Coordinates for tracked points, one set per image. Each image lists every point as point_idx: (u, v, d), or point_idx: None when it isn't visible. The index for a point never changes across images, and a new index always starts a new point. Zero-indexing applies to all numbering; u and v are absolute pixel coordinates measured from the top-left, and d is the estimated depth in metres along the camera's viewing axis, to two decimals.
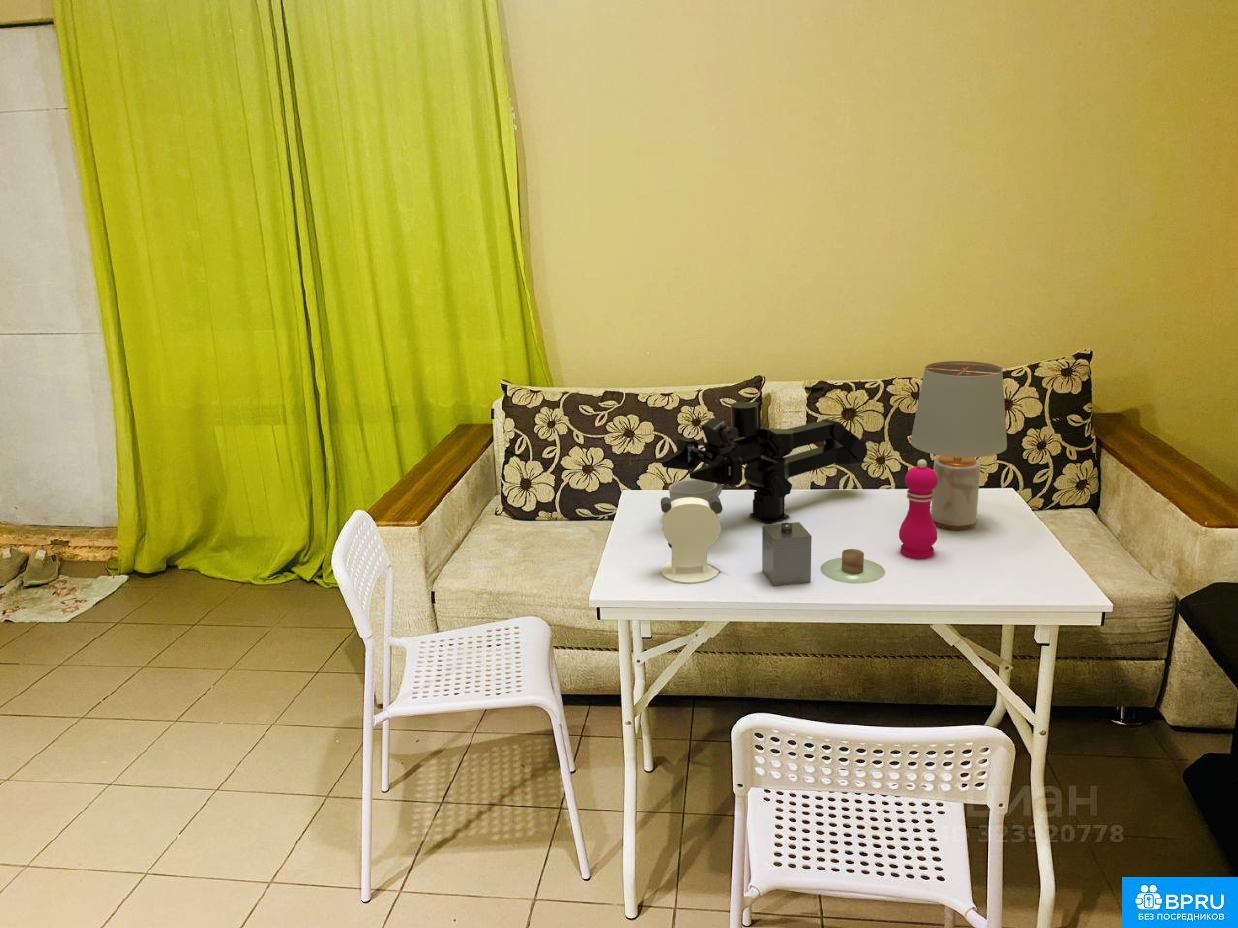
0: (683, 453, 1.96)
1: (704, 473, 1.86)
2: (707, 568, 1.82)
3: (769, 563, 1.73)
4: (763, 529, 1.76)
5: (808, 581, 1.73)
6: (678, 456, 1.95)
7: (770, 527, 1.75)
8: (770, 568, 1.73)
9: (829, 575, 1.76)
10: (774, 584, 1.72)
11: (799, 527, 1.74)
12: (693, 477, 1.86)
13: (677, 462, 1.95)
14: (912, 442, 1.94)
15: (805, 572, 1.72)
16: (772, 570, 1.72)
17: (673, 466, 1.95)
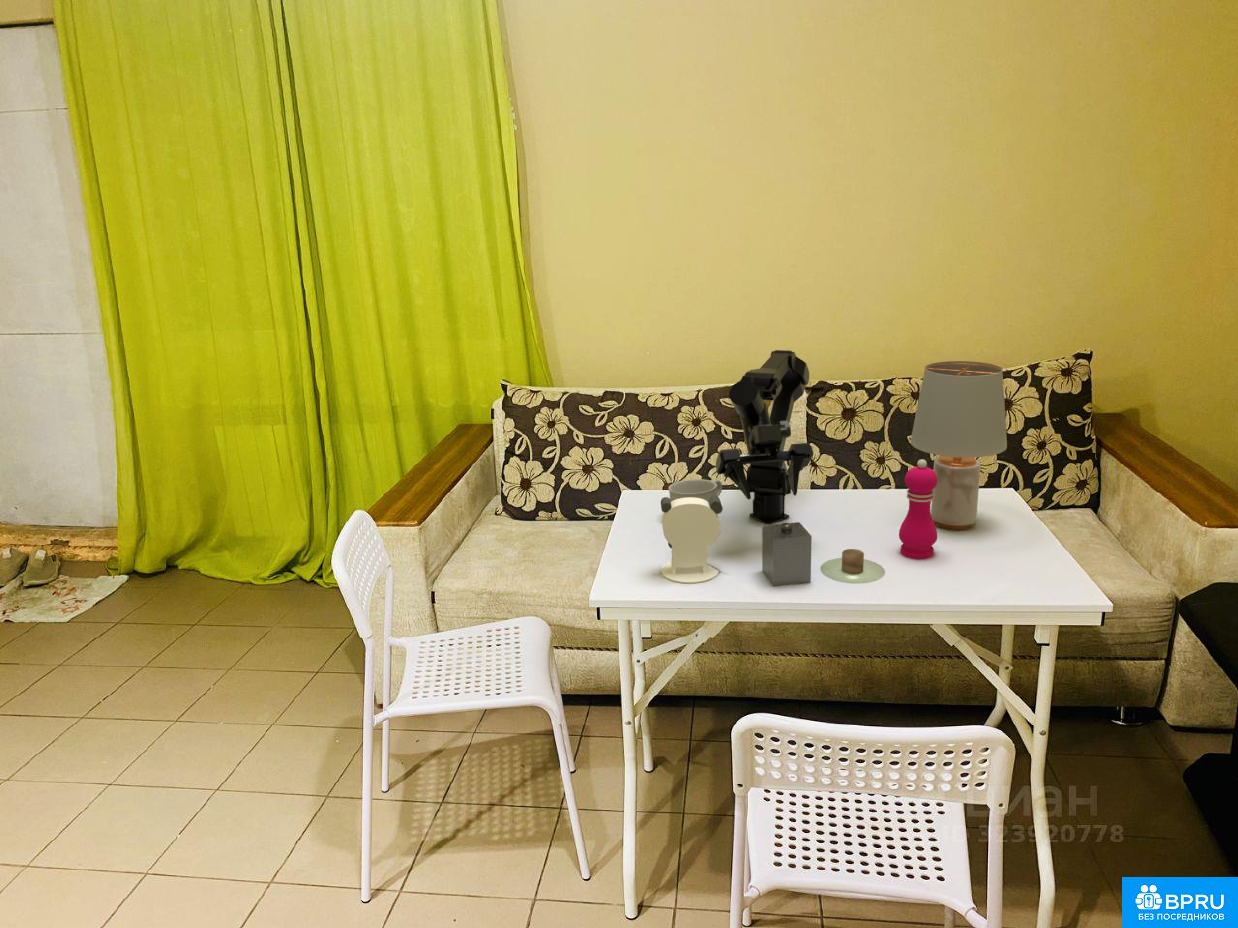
0: None
1: None
2: (707, 568, 1.82)
3: (769, 563, 1.73)
4: (763, 529, 1.76)
5: (808, 581, 1.73)
6: None
7: (770, 527, 1.75)
8: (770, 568, 1.73)
9: (829, 575, 1.76)
10: (774, 584, 1.72)
11: (799, 527, 1.74)
12: None
13: None
14: (912, 442, 1.94)
15: (805, 572, 1.72)
16: (772, 570, 1.72)
17: None
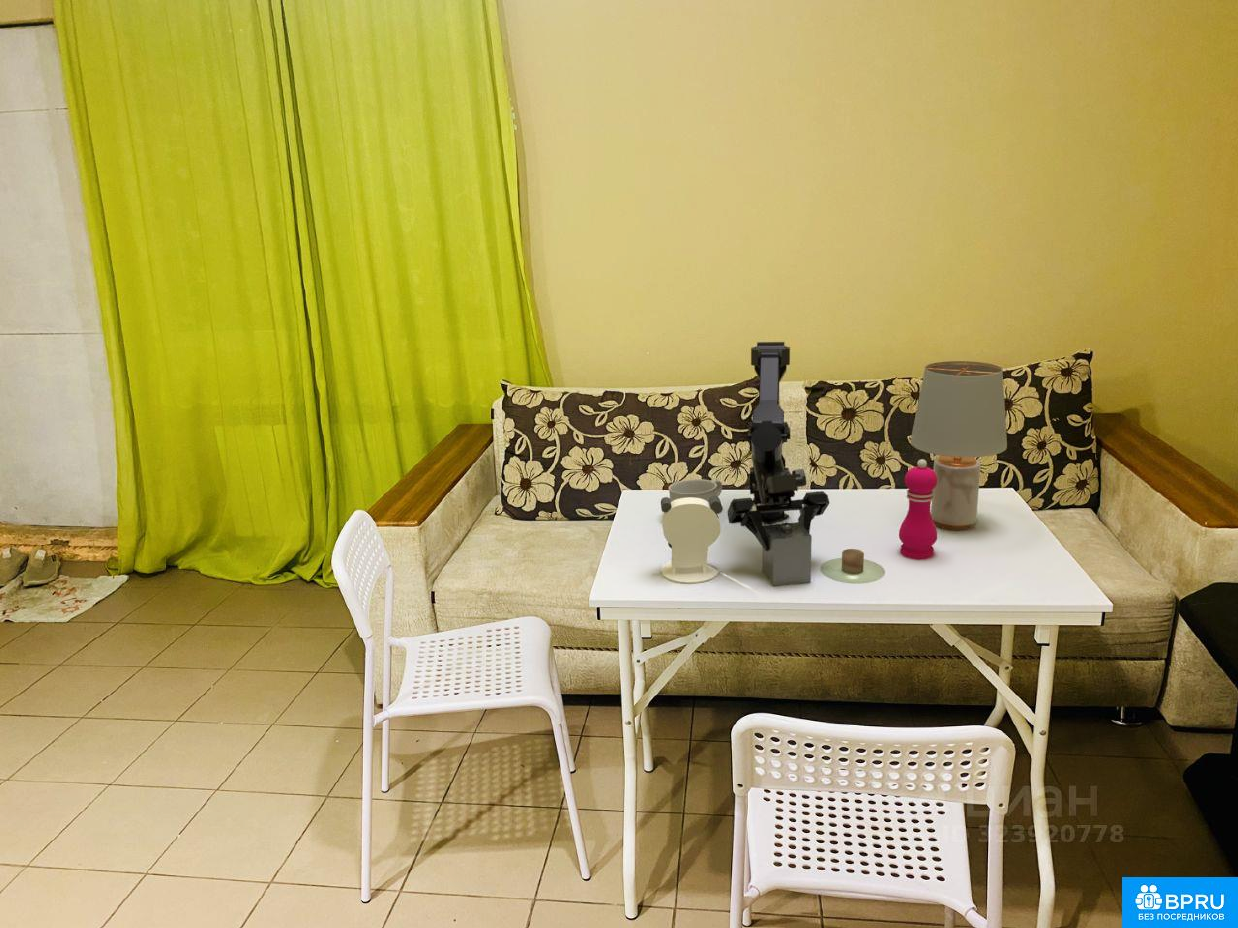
0: None
1: None
2: (707, 568, 1.82)
3: (769, 563, 1.73)
4: None
5: (808, 581, 1.73)
6: None
7: (770, 527, 1.75)
8: (770, 568, 1.73)
9: (829, 575, 1.76)
10: (774, 584, 1.72)
11: (799, 527, 1.74)
12: None
13: None
14: (912, 442, 1.94)
15: (805, 572, 1.72)
16: (772, 570, 1.72)
17: None
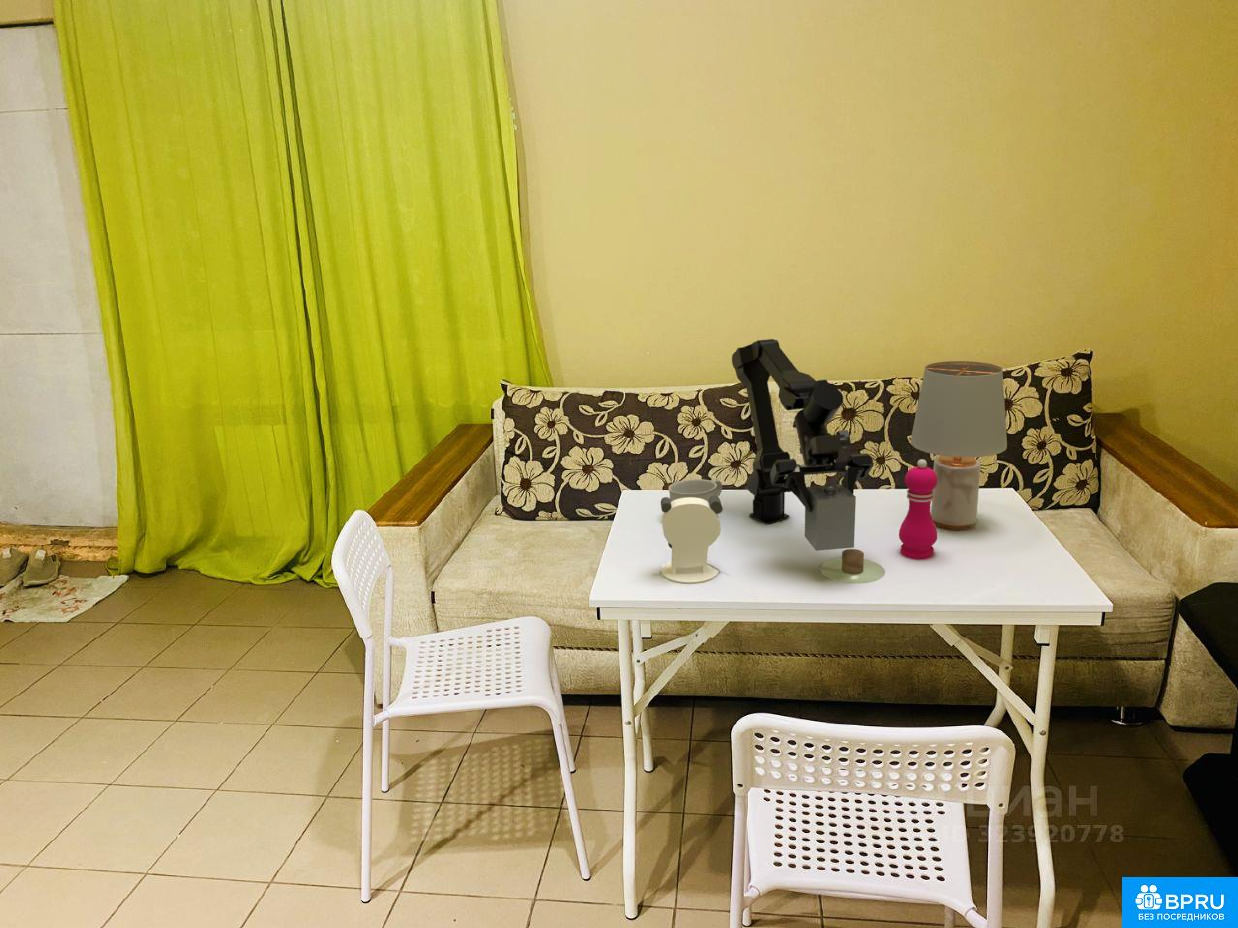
0: None
1: None
2: (707, 568, 1.82)
3: (812, 525, 1.72)
4: None
5: (851, 543, 1.71)
6: None
7: (813, 489, 1.74)
8: (813, 529, 1.72)
9: (829, 575, 1.76)
10: (817, 545, 1.71)
11: (842, 489, 1.73)
12: None
13: None
14: (912, 442, 1.94)
15: (849, 534, 1.71)
16: (815, 531, 1.71)
17: None
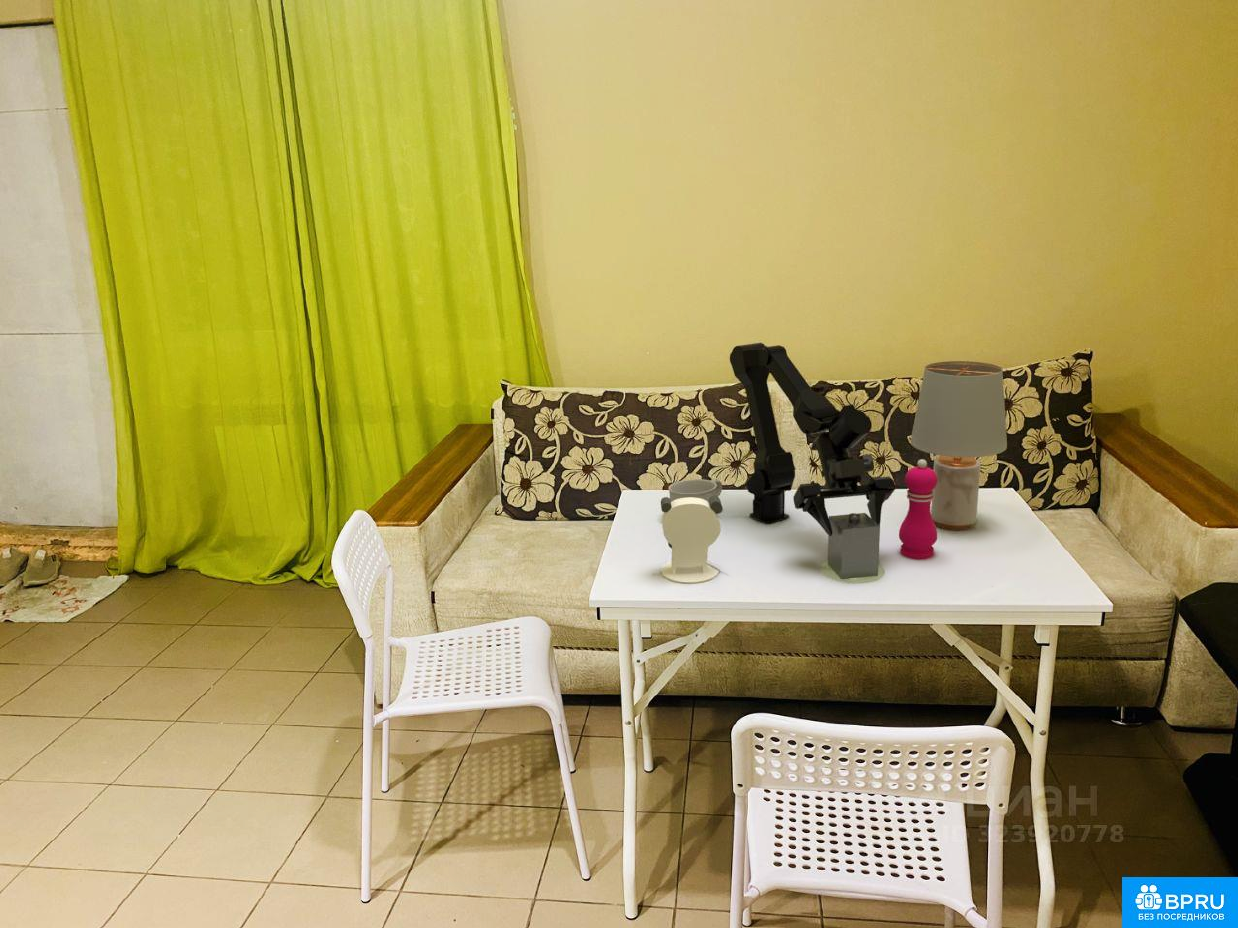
0: None
1: None
2: (707, 568, 1.82)
3: (837, 553, 1.75)
4: (830, 520, 1.77)
5: (876, 571, 1.74)
6: None
7: (837, 518, 1.76)
8: (838, 558, 1.74)
9: (829, 575, 1.76)
10: (842, 574, 1.73)
11: (866, 518, 1.76)
12: None
13: None
14: (912, 442, 1.94)
15: (873, 562, 1.74)
16: (840, 560, 1.73)
17: None
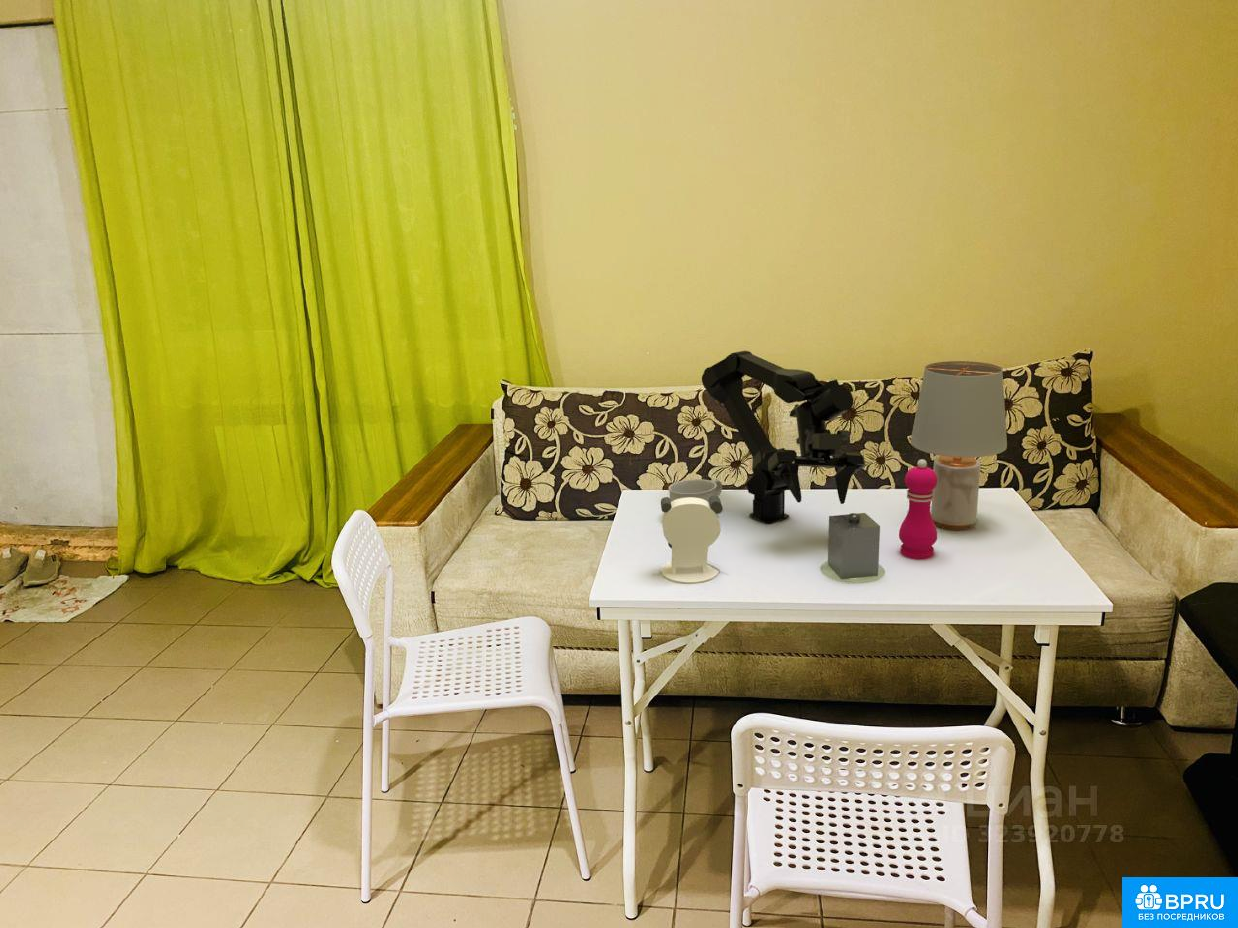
0: None
1: None
2: (707, 568, 1.82)
3: (837, 553, 1.75)
4: (830, 520, 1.77)
5: (876, 571, 1.74)
6: None
7: (837, 518, 1.76)
8: (838, 558, 1.74)
9: (829, 575, 1.76)
10: (842, 574, 1.73)
11: (866, 518, 1.76)
12: None
13: None
14: (912, 442, 1.94)
15: (873, 562, 1.74)
16: (840, 560, 1.73)
17: None
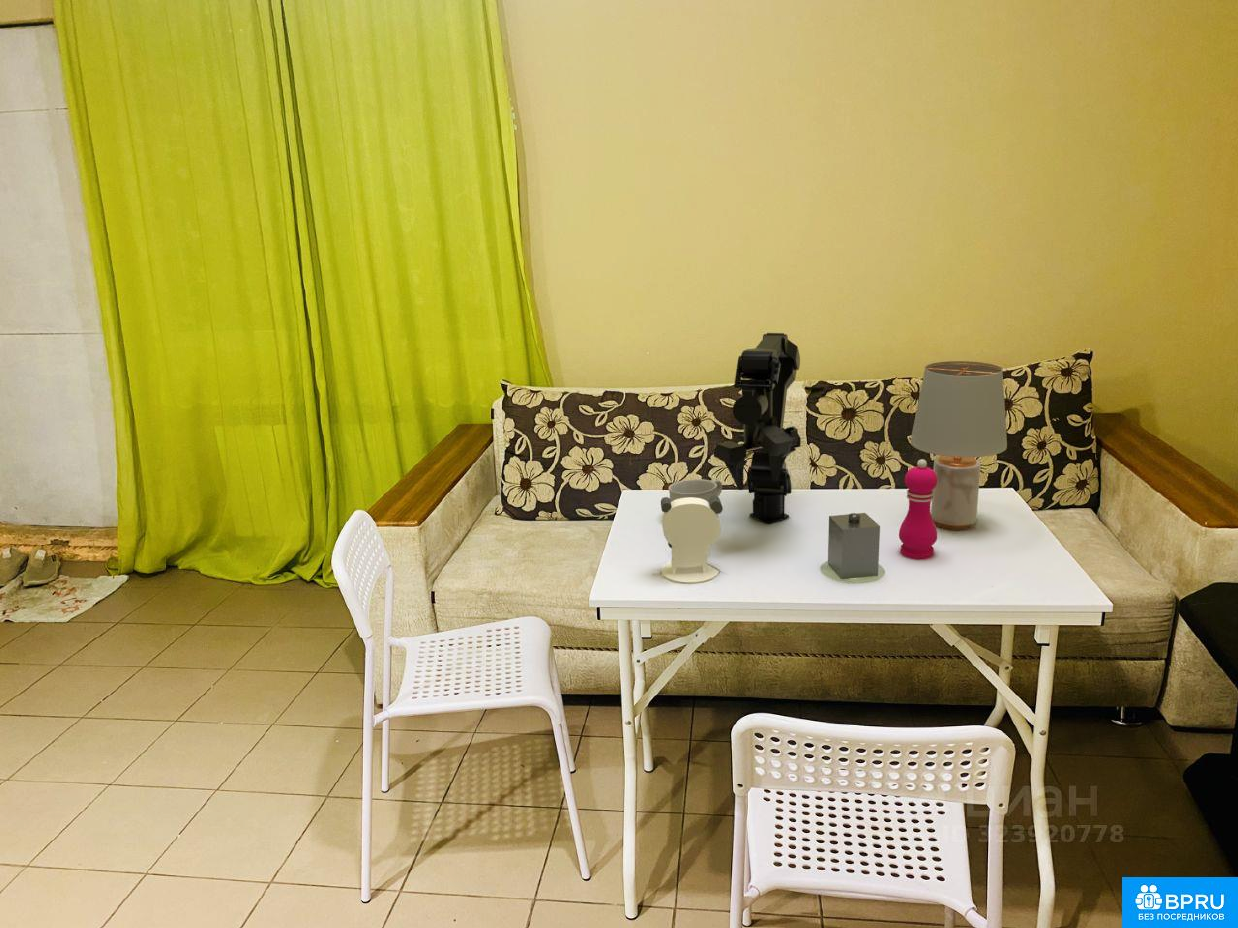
0: None
1: None
2: (707, 568, 1.82)
3: (837, 553, 1.75)
4: (830, 520, 1.77)
5: (876, 571, 1.74)
6: None
7: (837, 518, 1.76)
8: (838, 558, 1.74)
9: (829, 575, 1.76)
10: (842, 574, 1.73)
11: (866, 518, 1.76)
12: None
13: None
14: (912, 442, 1.94)
15: (873, 562, 1.74)
16: (840, 560, 1.73)
17: None
